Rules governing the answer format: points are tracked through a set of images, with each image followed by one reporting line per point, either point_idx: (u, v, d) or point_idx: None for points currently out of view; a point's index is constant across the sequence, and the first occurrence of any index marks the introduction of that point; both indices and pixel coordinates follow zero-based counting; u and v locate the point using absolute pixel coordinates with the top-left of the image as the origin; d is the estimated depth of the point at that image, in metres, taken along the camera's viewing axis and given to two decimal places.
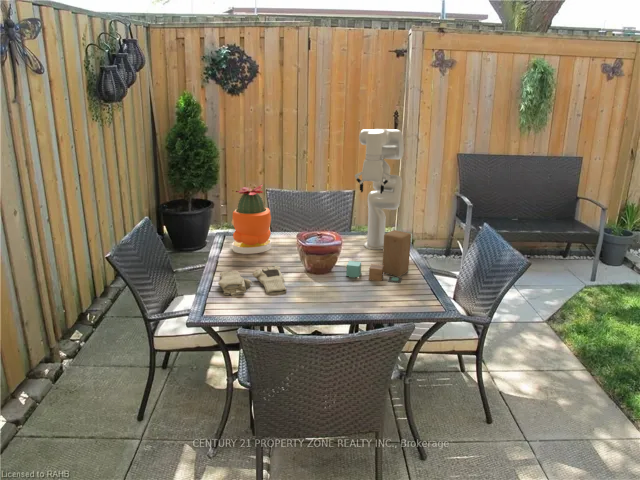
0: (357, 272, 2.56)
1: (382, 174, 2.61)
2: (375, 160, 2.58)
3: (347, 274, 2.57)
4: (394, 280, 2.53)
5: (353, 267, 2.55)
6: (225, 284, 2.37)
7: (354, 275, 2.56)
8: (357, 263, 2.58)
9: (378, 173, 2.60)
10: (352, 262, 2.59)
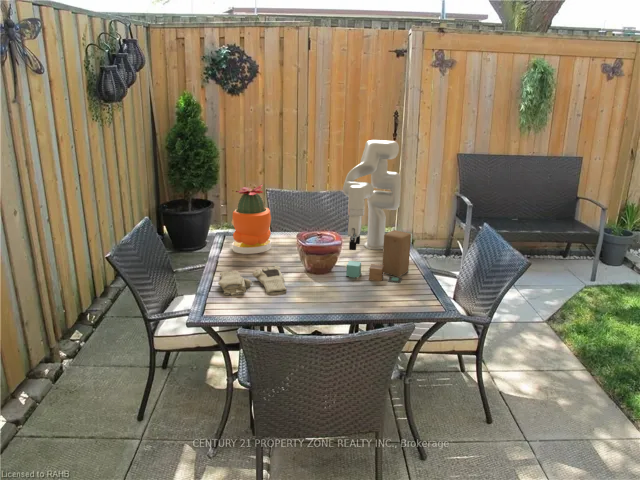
0: (357, 272, 2.56)
1: None
2: None
3: (347, 274, 2.57)
4: (394, 280, 2.53)
5: (353, 267, 2.55)
6: (225, 284, 2.37)
7: (354, 275, 2.56)
8: (357, 263, 2.58)
9: None
10: (352, 262, 2.59)
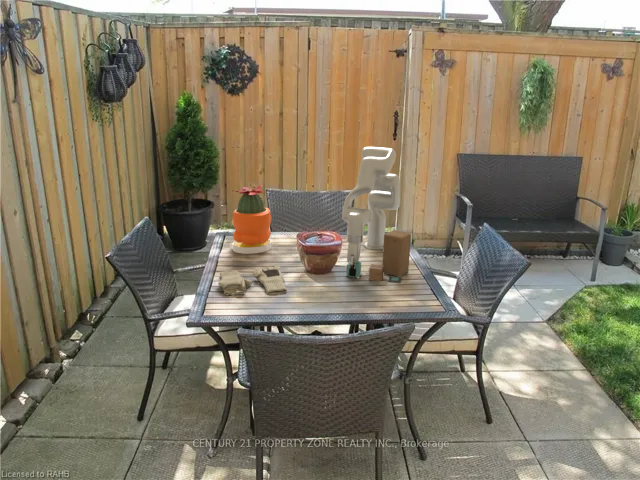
0: (357, 272, 2.56)
1: None
2: None
3: (347, 274, 2.57)
4: (394, 280, 2.53)
5: None
6: (225, 284, 2.37)
7: None
8: (357, 263, 2.58)
9: None
10: None
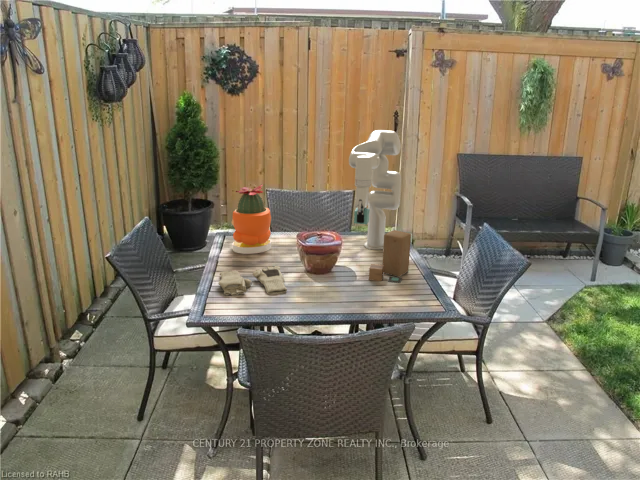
0: (365, 218, 2.48)
1: None
2: None
3: (355, 221, 2.50)
4: (394, 280, 2.53)
5: None
6: (225, 284, 2.37)
7: None
8: (365, 209, 2.50)
9: (368, 196, 2.51)
10: None
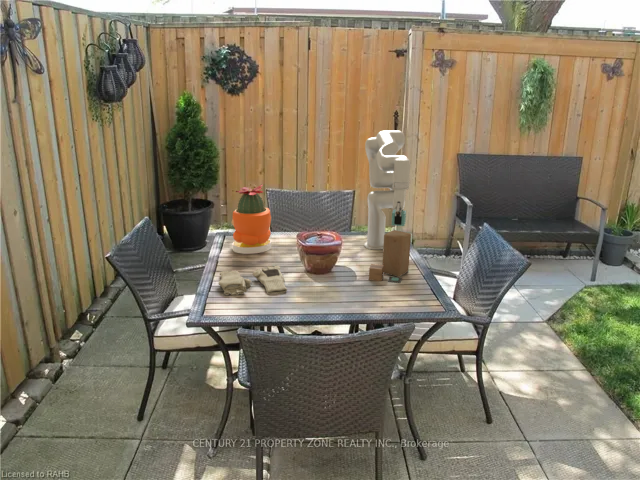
0: (403, 220, 2.52)
1: None
2: None
3: (392, 222, 2.53)
4: (394, 280, 2.53)
5: None
6: (225, 284, 2.37)
7: None
8: (402, 211, 2.54)
9: None
10: None
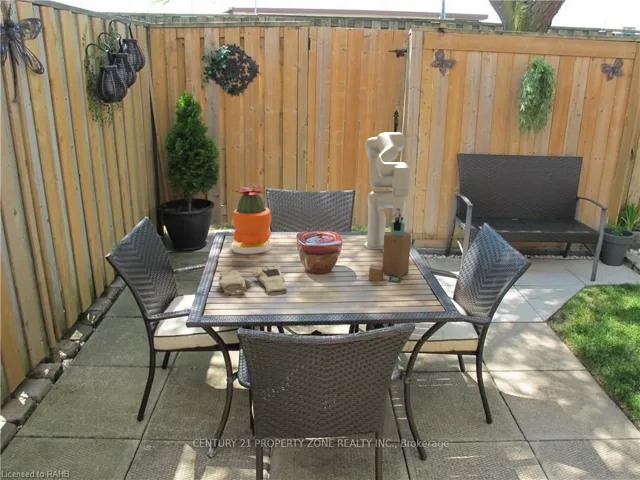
0: (402, 230, 2.53)
1: None
2: None
3: (392, 232, 2.55)
4: (394, 280, 2.53)
5: None
6: (225, 284, 2.37)
7: (399, 233, 2.54)
8: (401, 221, 2.56)
9: None
10: None
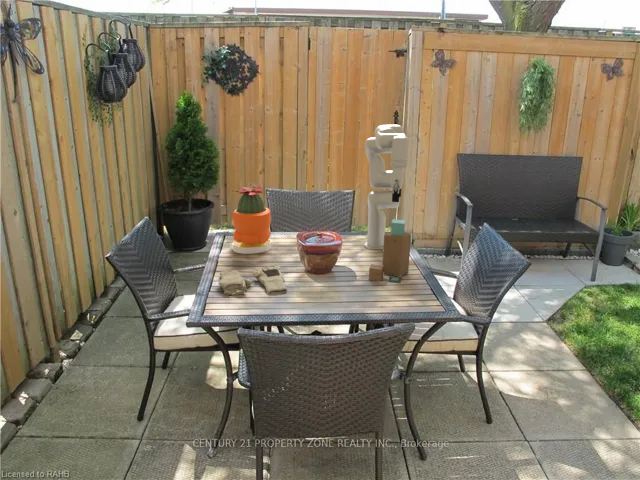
0: (402, 230, 2.53)
1: None
2: None
3: (392, 232, 2.55)
4: (394, 280, 2.53)
5: (398, 225, 2.53)
6: (226, 284, 2.37)
7: (399, 233, 2.54)
8: (401, 221, 2.56)
9: None
10: (396, 220, 2.57)
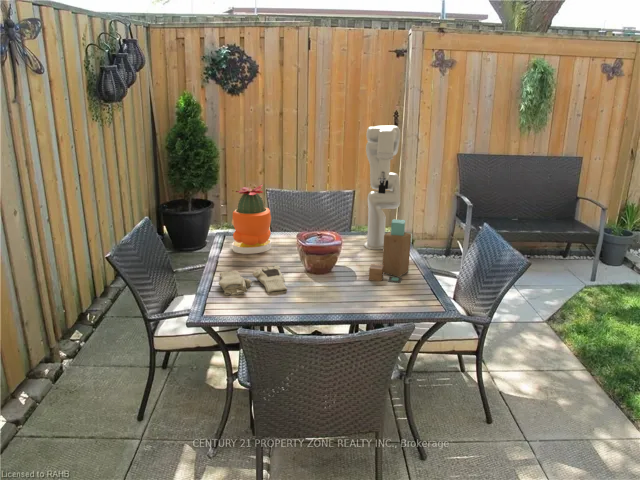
0: (402, 230, 2.53)
1: None
2: None
3: (392, 232, 2.55)
4: (394, 280, 2.53)
5: (398, 225, 2.53)
6: (226, 284, 2.37)
7: (399, 233, 2.54)
8: (401, 221, 2.56)
9: None
10: (396, 220, 2.57)
